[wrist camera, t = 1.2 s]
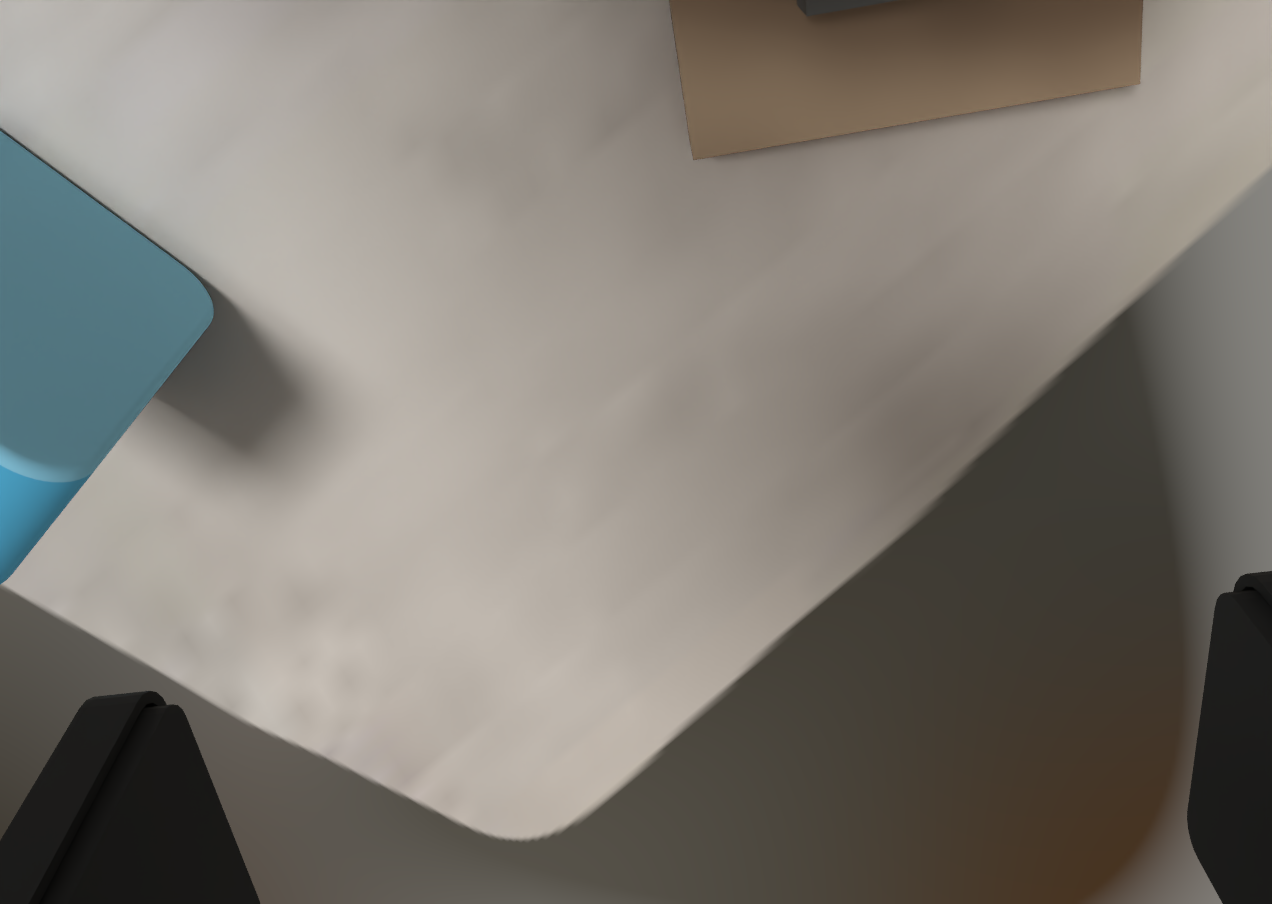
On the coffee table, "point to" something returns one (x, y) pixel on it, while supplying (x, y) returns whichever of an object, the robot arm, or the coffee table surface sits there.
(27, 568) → the coffee table surface
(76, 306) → the blue rounded block
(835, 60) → the latch base
